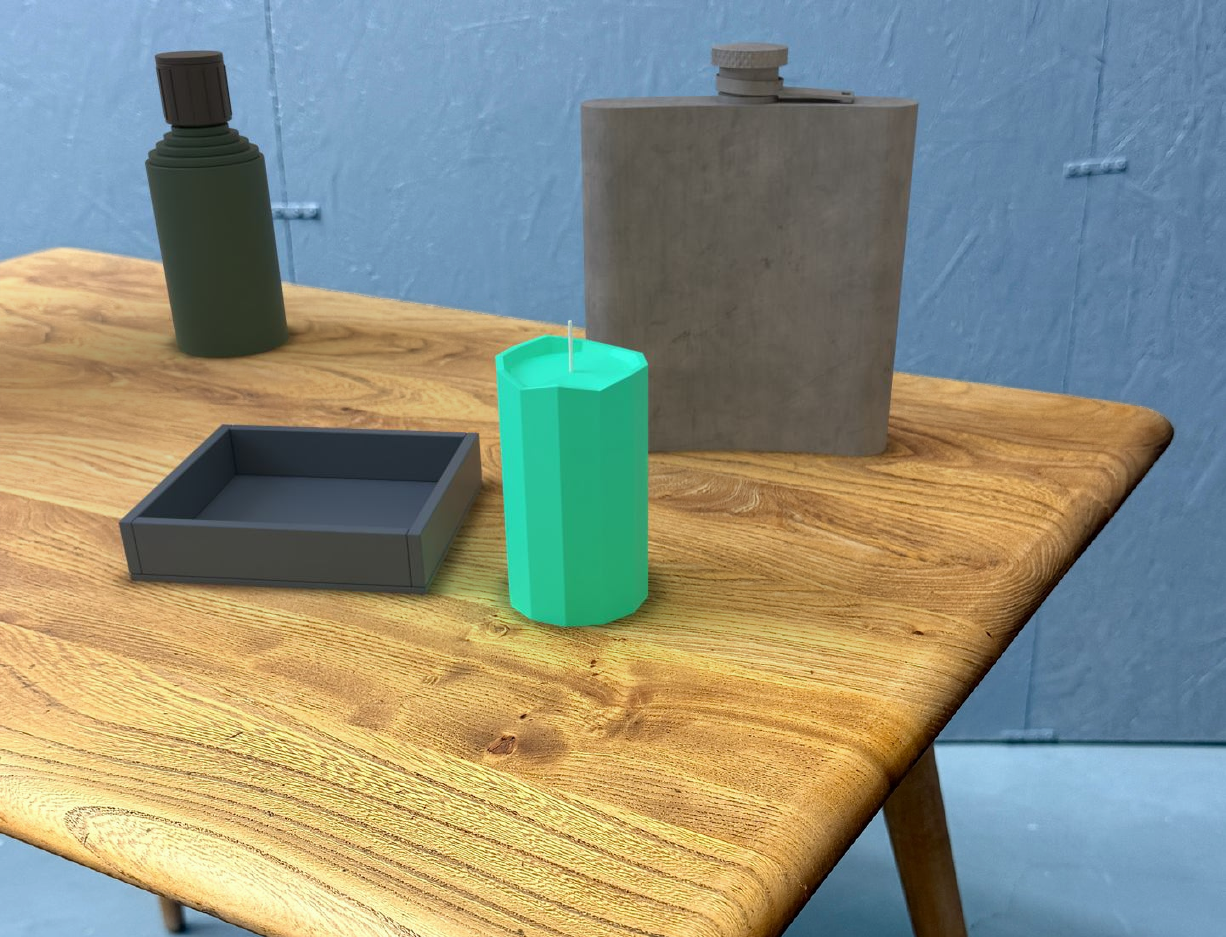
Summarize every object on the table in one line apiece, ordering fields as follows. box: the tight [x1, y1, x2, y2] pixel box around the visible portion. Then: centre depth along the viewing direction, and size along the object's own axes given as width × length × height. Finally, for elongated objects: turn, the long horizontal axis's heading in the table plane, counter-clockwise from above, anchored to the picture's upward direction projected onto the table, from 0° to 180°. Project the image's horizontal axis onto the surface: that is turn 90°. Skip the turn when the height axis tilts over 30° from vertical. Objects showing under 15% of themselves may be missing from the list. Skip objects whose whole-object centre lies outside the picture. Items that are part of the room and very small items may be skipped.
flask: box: [144, 121, 290, 359], centre depth 83 cm, size 7×7×18 cm
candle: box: [494, 319, 649, 628], centre depth 53 cm, size 6×6×12 cm
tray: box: [118, 423, 483, 596], centre depth 61 cm, size 13×12×3 cm
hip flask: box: [579, 41, 920, 458], centre depth 66 cm, size 16×4×20 cm, turn 87°
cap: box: [154, 50, 233, 126], centre depth 80 cm, size 4×4×4 cm
